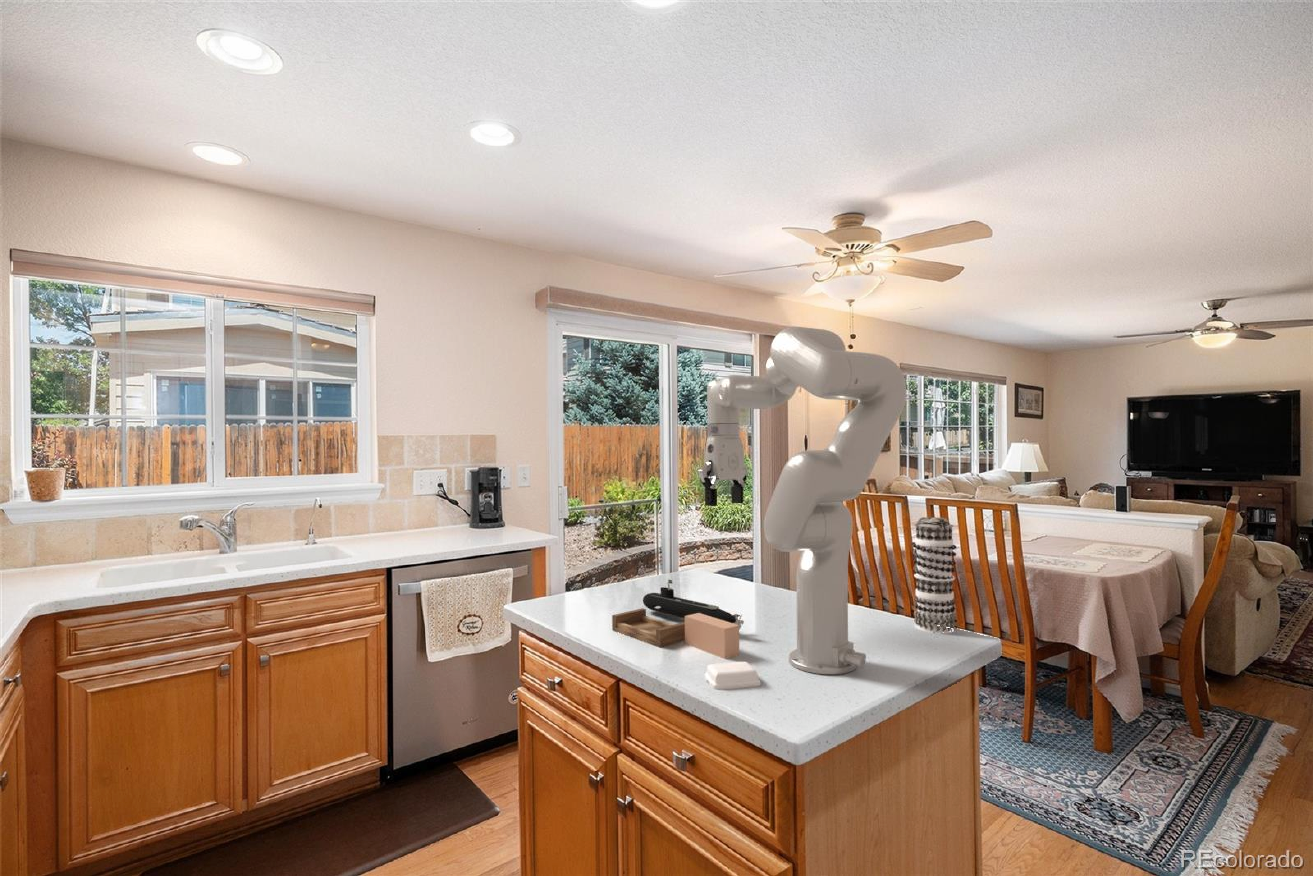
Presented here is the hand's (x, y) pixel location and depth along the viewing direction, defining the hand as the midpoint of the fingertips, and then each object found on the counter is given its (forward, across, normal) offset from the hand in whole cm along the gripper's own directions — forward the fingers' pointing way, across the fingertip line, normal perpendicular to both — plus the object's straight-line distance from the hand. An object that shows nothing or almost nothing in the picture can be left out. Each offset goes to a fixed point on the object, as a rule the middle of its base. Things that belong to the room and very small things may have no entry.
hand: (724, 504), depth 150 cm
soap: (+29, -28, -24) cm, 47 cm away
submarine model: (+28, -7, +5) cm, 29 cm away
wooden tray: (+28, -19, +6) cm, 34 cm away
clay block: (+28, -17, -10) cm, 34 cm away
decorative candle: (+28, +28, -37) cm, 55 cm away
